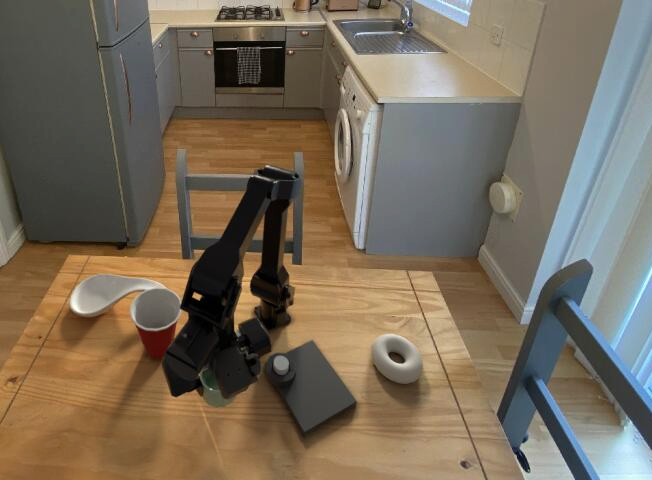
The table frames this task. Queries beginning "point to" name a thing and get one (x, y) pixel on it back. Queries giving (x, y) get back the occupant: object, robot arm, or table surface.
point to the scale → (310, 387)
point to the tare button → (281, 365)
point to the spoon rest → (105, 293)
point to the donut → (391, 369)
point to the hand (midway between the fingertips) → (219, 385)
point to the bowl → (213, 390)
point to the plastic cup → (156, 319)
